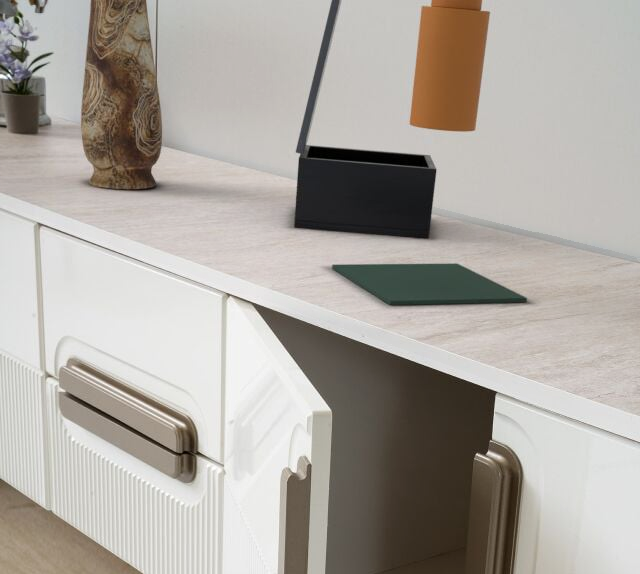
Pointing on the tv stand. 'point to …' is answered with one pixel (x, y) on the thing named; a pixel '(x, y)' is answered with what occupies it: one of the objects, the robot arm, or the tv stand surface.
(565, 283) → the tv stand surface
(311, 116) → the lid
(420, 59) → the bottle
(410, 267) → the mat
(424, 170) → the black rectangular box
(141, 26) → the vase
